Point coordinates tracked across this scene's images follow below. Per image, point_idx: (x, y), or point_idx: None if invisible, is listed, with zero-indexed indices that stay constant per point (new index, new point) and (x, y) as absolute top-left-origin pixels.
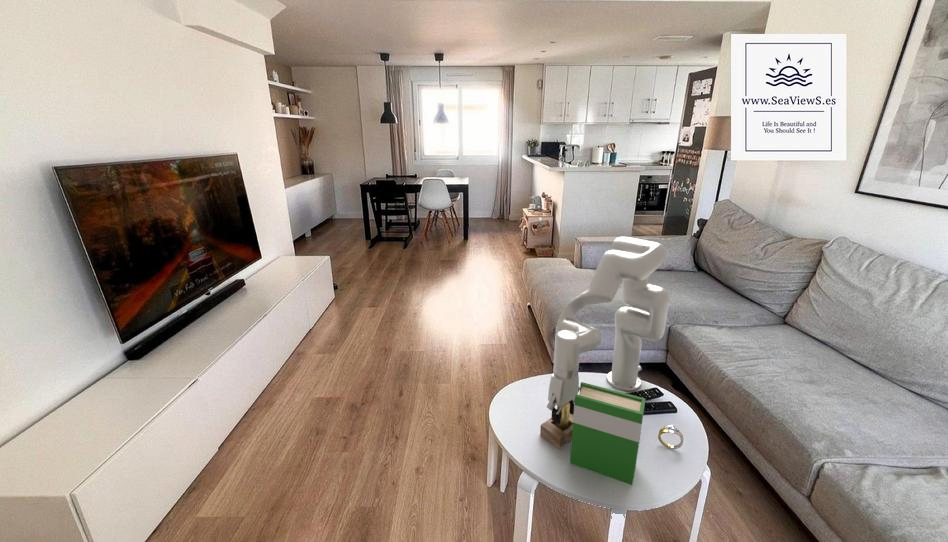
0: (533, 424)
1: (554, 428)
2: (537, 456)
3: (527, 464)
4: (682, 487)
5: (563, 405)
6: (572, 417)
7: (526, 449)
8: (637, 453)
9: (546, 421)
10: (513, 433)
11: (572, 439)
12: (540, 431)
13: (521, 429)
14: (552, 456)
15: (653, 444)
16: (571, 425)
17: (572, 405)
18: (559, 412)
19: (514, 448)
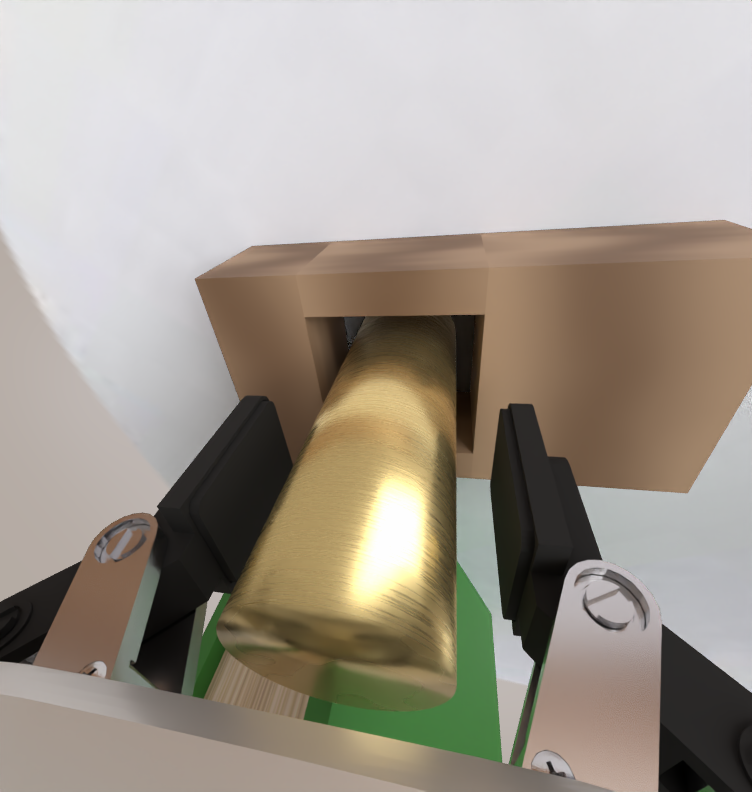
0: (270, 78)
1: (288, 386)
2: (149, 364)
3: (78, 365)
4: (512, 681)
5: (278, 675)
6: (541, 408)
7: (101, 285)
8: (496, 693)
9: (277, 280)
10: (30, 55)
11: (204, 641)
12: (235, 257)
13: (123, 58)
14: (228, 412)
15: (683, 633)
16: (473, 409)
17: (503, 612)
18: (199, 608)
19: (18, 224)
